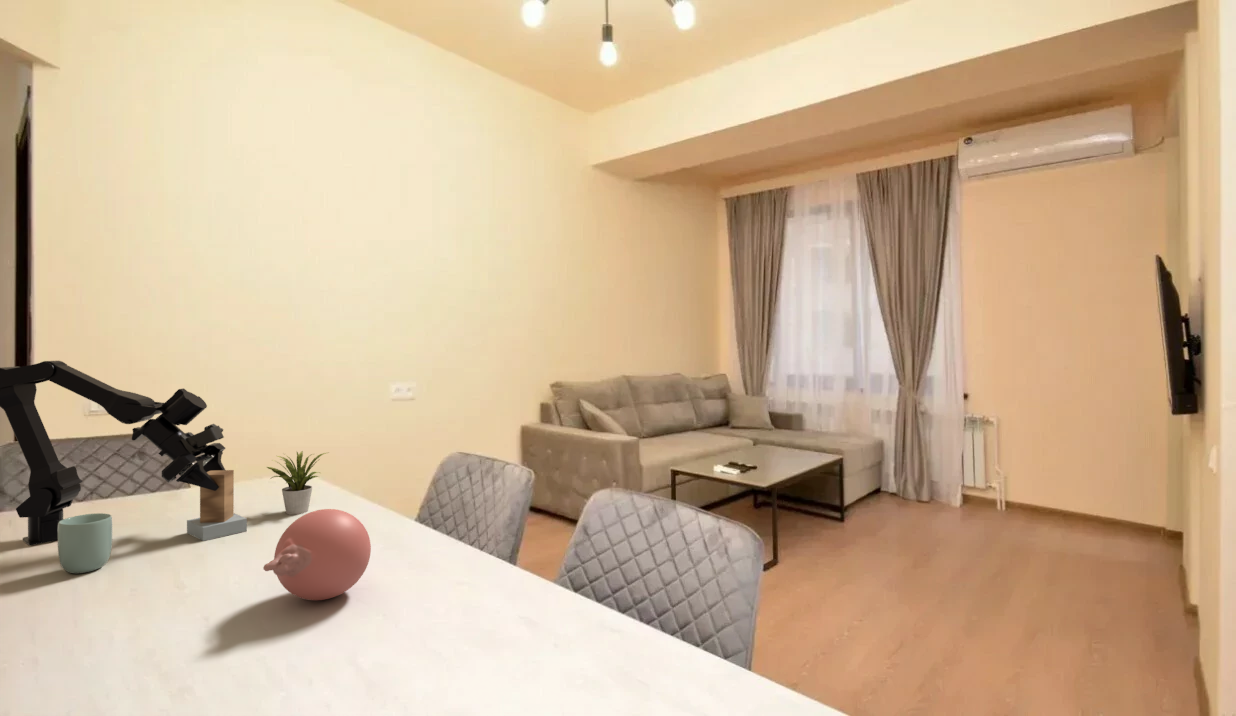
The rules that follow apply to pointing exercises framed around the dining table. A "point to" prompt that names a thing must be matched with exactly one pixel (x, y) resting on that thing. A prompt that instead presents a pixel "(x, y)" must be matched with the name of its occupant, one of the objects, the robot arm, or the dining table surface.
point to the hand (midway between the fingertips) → (223, 485)
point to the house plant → (296, 484)
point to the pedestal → (216, 528)
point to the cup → (84, 542)
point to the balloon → (321, 554)
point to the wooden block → (218, 498)
